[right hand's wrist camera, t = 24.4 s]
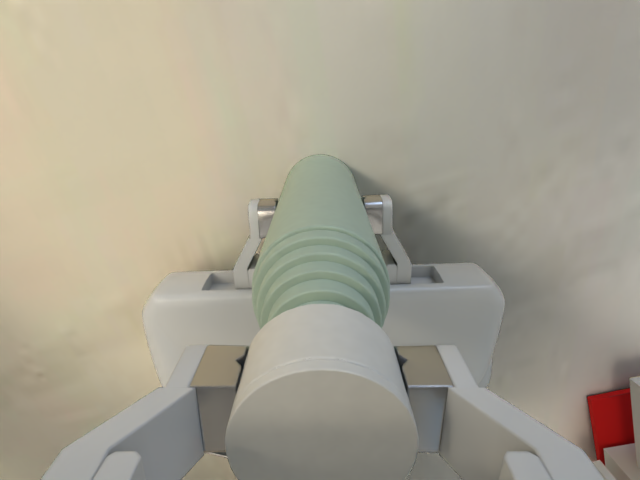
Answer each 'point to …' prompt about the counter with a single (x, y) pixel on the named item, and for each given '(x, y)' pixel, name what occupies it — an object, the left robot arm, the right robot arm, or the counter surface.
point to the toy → (617, 432)
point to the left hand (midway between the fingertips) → (319, 199)
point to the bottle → (320, 247)
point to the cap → (321, 401)
